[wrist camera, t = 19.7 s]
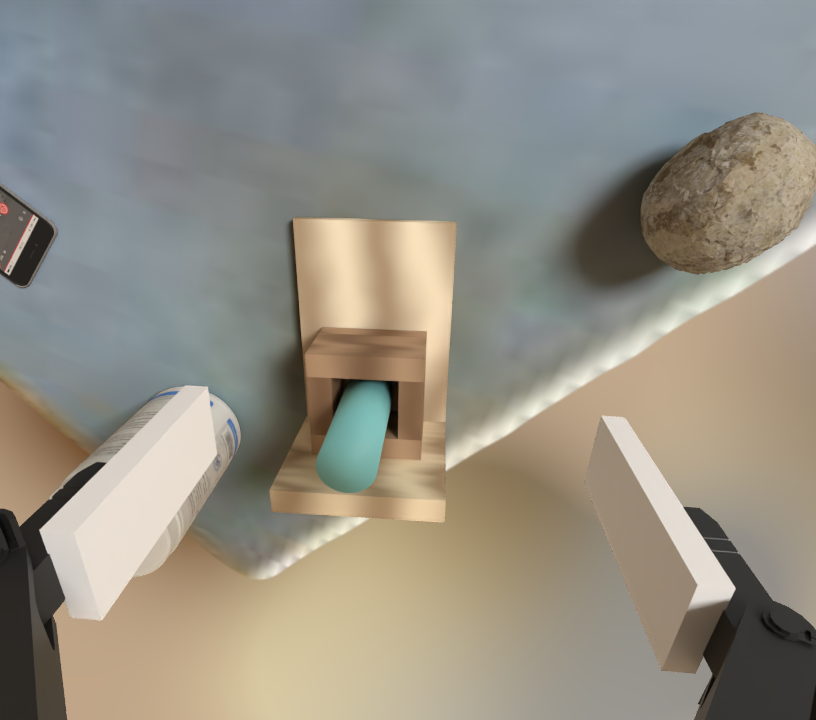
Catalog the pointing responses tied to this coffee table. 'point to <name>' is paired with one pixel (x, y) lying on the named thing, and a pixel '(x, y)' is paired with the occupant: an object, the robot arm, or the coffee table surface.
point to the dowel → (356, 436)
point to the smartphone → (22, 238)
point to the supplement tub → (226, 449)
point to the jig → (375, 309)
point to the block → (369, 360)
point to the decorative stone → (729, 194)
